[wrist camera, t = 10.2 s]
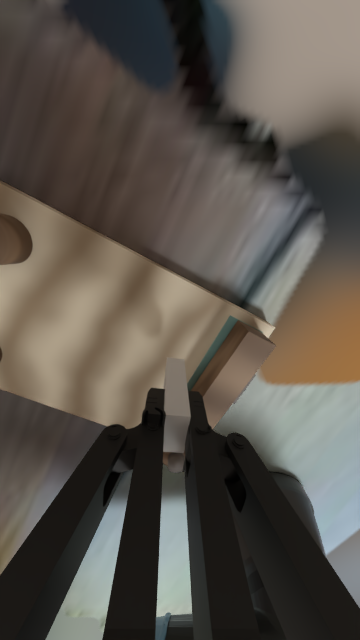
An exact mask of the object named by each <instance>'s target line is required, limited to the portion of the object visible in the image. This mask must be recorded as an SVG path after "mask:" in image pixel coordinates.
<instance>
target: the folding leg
mask: <svg viewBox="0 0 360 640" xmlns="http://www.w3.org/2000/svg"><path fill="white" fill-rule="evenodd" d="M275 347H276V345H275V344H274V343H273V342H271V341H270V340H269V339H268V338H267V337H266V336H265V335H264V334H263V333H262V332H260V331H258V330H256V329H254V328H252V327H250V326H248V325H247V324H245V323H243V322H241V321H239V320H238V321H237V322H236V324H235V325H234V327H233V328H232V330H231V331H230V333H229V334H228V336H227V337H226V339H225V340H224V342H223V343H222V345H221V346H220V348H219V349H218V351H217V352H216V354H215V355H214V357H213V358H212V360H211V361H210V363H209V364H208V366H207V367H206V369H205V370H204V372H203V373H202V375H201V376H200V378H199V379H198V381H197V382H196V384H195V385H194V387H193V388H192V390H191V391H197V392H199V393H200V394H201V395H202V397H203V401H204V406H205V410H206V415H207V420H208V424H209V425H210V426H211V427H212V429H213V428H214V427H215V426H216V424H217V423H218V422H219V420H220V419H221V418H222V416H223V415H224V414H225V412H226V411H227V410H228V409H229V407H230V406H231V405H232V403H233V402H234V401H235V399H236V398H237V397H238V395H239V394H240V393H241V391H242V390H243V389H244V388H245V386H246V385H247V384H248V382H249V381H250V380H251V378H252V377H253V376H254V374H255V373H256V372H257V370H258V369H259V368H260V366H261V365H262V364H263V363H264V361H265V360H266V359H267V357H268V356H269V355H270V353H271V352H272V351H273V349H274V348H275ZM184 459H185V450H184V453H176V452H163V463H164V464H165V465H166V466H168V470H169V471H170V472H173V473H179V472H181V471H182V470H183V465H184Z"/></svg>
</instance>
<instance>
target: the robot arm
mask: <svg viewBox="0 0 360 640" xmlns="http://www.w3.org/2000/svg"><path fill="white" fill-rule="evenodd" d="M184 450H185V459H184V465H183V470H182V472H184V470H185V487H186V505H187V523H188V542H189V560H190V578H191V597H192V614H182V615H171V613H166V615H165V616H161V617H156V607H157V584H158V561H159V538H160V514H161V491H162V468H163V452H176V453H184ZM132 469H133V473H132V479H131V484H130V490H129V495H128V501H127V506H126V512H125V518H124V523H123V529H122V534H121V540H120V545H119V551H118V557H117V562H116V568H115V573H114V579H113V584H112V590H111V595H110V601H109V607H108V612H107V618H106V623H105V629H104V634H103V639H102V640H360V608H359V607H358V605H357V604H356V602H355V601H354V599H353V598H352V596H351V595H350V593H349V592H348V590H347V589H346V587H345V586H344V584H343V583H342V581H341V580H340V578H339V577H338V575H337V574H336V572H335V571H334V569H333V568H332V566H331V565H330V563H329V562H328V560H327V558H326V555H325V551H324V547H323V544H322V540H321V536H320V533H319V529H318V526H317V523H316V519H315V516H314V510H313V506H312V504H311V501H310V499H309V498H308V496H307V494H306V492H305V490H304V488H303V487H302V485H301V484H300V483H299V482H298V481H297V480H295V479H294V478H292V477H290V476H288V475H284V474H280V473H271V472H269V471H268V469H267V468H266V466H265V465H264V463H263V462H262V460H261V459H260V457H259V456H258V454H257V453H256V451H255V450H254V448H253V447H252V445H251V444H250V442H249V441H248V440H247V439H246V438H245V437H244V436H243V435H241V434H238V433H231V434H229V435H228V436H227V437H225V436H222V435H220V434H217V433H216V432H214V431H213V429H212V427H211V426H210V425H209V424H208V420H207V415H206V410H205V406H204V401H203V397H202V395H201V394H200V393H199V392H197V391H188V388H187V379H186V370H185V362H184V359H176V358H167V362H166V370H165V377H164V385H163V389H160V388H151V389H150V390H149V391H148V393H147V398H146V404H145V409H144V411H143V413H142V421H141V423H140V424H139V425H138V426H136V427H134V428H130V429H126V428H125V427H124V426H122V425H120V424H113V425H110V426H108V427H106V428H105V429H104V430H103V431H102V433H101V434H100V435H99V437H98V438H97V440H96V441H95V443H94V444H93V445H92V447H91V448H90V450H89V451H88V452H87V454H86V455H85V457H84V458H83V459H82V461H81V462H80V464H79V465H78V466H77V468H76V469H75V471H74V472H73V474H72V475H71V476H70V478H69V479H68V481H67V482H66V483H65V485H64V486H63V488H62V489H61V490H60V492H59V493H58V495H57V496H56V498H55V499H54V500H53V502H52V503H51V505H50V506H49V507H48V509H47V510H46V512H45V513H44V514H43V516H42V517H41V519H40V520H39V522H38V523H37V524H36V526H35V527H34V529H33V530H32V531H31V533H30V534H29V536H28V537H27V538H26V540H25V541H24V543H23V544H22V545H21V547H20V548H19V550H18V551H17V553H16V554H15V555H14V557H13V558H12V560H11V561H10V562H9V564H8V565H7V567H6V568H5V569H4V571H3V572H2V574H1V575H0V640H45V639H46V637H47V635H48V633H49V631H50V629H51V626H52V624H53V622H54V620H55V618H56V615H57V613H58V612H59V609H60V607H61V605H62V603H63V601H64V599H65V597H66V594H67V592H68V590H69V588H70V586H71V584H72V582H73V580H74V577H75V575H76V573H77V571H78V569H79V567H80V565H81V562H82V560H83V558H84V556H85V554H86V552H87V550H88V548H89V545H90V543H91V541H92V539H93V537H94V535H95V533H96V530H97V528H98V526H99V524H100V522H101V520H102V518H103V516H104V513H105V511H106V509H107V507H108V505H109V503H110V501H111V498H112V496H113V494H114V492H115V490H116V488H117V486H118V484H119V481H120V479H121V477H122V475H123V472H125V471H128V470H132Z"/></svg>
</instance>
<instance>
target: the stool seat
mask: <svg viewBox="0 0 360 640" xmlns="http://www.w3.org/2000/svg"><path fill="white" fill-rule="evenodd" d="M238 320H239V321H241V322H243V323H245V324H247V325H248V326H250V327H252V328H254V329H256V330H258V331H260V332H262V333H263V334H264V335H265V336H266V337H267V338H268V337H269V336H270V334H271V333H272V331H273V330H274V329H275V327H274V326H272V325H271V324H270V323H268V322H267V321H265V320H263V319H261V318H259V317H258V316H256V315H254V314H252V313H250V312H248V311H246V310H244V309H242V308H241V307H239V306H237V305H235V304H233V303H231V302H229V301H227V300H225V299H224V298H222V297H220V296H218V295H216V294H214V293H212V292H210V291H208V290H207V289H205V288H203V287H201V286H199V285H197V284H195V283H193V282H191V281H190V280H188V279H186V278H184V277H182V276H180V275H178V274H176V273H175V272H173V271H171V270H169V269H167V268H165V267H163V266H161V265H159V264H158V263H156V262H154V261H152V260H150V259H148V258H146V257H144V256H142V255H141V254H139V253H137V252H135V251H133V250H131V249H129V248H127V247H125V246H124V245H122V244H120V243H118V242H116V241H114V240H112V239H110V238H108V237H107V236H105V235H103V234H101V233H99V232H97V231H95V230H93V229H91V228H90V227H88V226H86V225H84V224H82V223H80V222H78V221H76V220H74V219H73V218H71V217H69V216H67V215H65V214H63V213H61V212H59V211H57V210H56V209H54V208H52V207H50V206H48V205H46V204H44V203H42V202H41V201H39V200H37V199H35V198H33V197H31V196H29V195H27V194H25V193H24V192H22V191H20V190H18V189H16V188H14V187H12V186H10V185H8V184H7V183H5V182H3V181H1V180H0V389H1V390H4V391H7V392H10V393H13V394H16V395H19V396H22V397H24V398H27V399H30V400H33V401H36V402H39V403H42V404H45V405H47V406H50V407H53V408H56V409H59V410H62V411H65V412H67V413H70V414H73V415H76V416H79V417H82V418H85V419H88V420H90V421H93V422H96V423H99V424H102V425H105V426H110V425H113V424H120V425H122V426H124V427H125V428H126V429H130V428H134V427H136V426H138V425H139V424H140V423H141V421H142V413H143V411H144V409H145V404H146V398H147V393H148V391H149V390H150V389H151V388H160V389H163V385H164V377H165V370H166V362H167V358H176V359H184V362H185V370H186V379H187V388H188V391H191V390H192V388H193V387H194V385H195V384H196V382H197V381H198V379H199V378H200V376H201V375H202V373H203V372H204V370H205V369H206V367H207V366H208V364H209V363H210V361H211V360H212V358H213V357H214V355H215V354H216V352H217V351H218V349H219V348H220V346H221V345H222V343H223V342H224V340H225V339H226V337H227V336H228V334H229V333H230V331H231V330H232V328H233V327H234V325H235V324H236V322H237V321H238ZM255 376H256V375H255V374H254V376H253V377H252V378H251V380H250V381H249V382H248V384H247V385H246V386H245V388H244V389H243V390H242V391H241V393H240V394H239V395H238V397H237V398H236V399H235V401H234V402H233V403H234V404H235V403H236V401H237V400H238V399H239V397H240V396H241V395H242V393H243V392H244V390H245V389H246V388H247V386H248V385H249V384H250V382H251V381H252V380H253V378H254V377H255Z"/></svg>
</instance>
